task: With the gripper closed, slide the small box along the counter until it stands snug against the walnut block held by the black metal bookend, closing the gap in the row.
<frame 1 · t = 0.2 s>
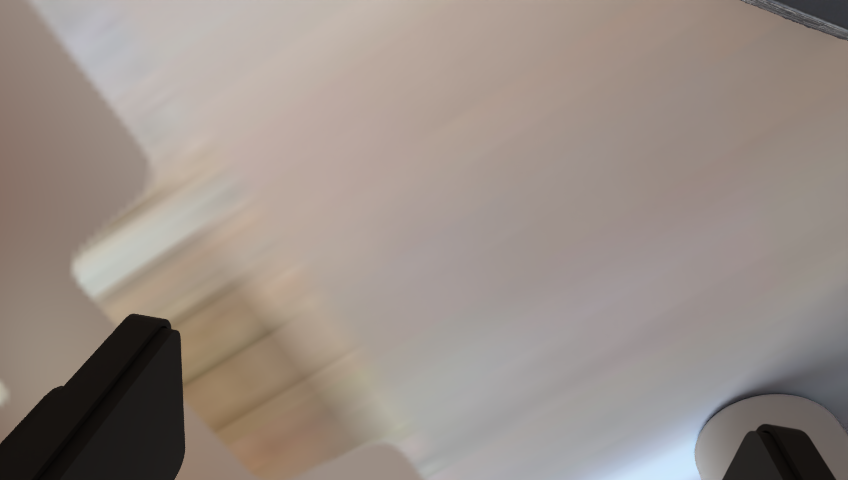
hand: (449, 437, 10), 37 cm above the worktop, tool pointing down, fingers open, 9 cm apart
cylinder vase: (762, 441, 57), on the worktop
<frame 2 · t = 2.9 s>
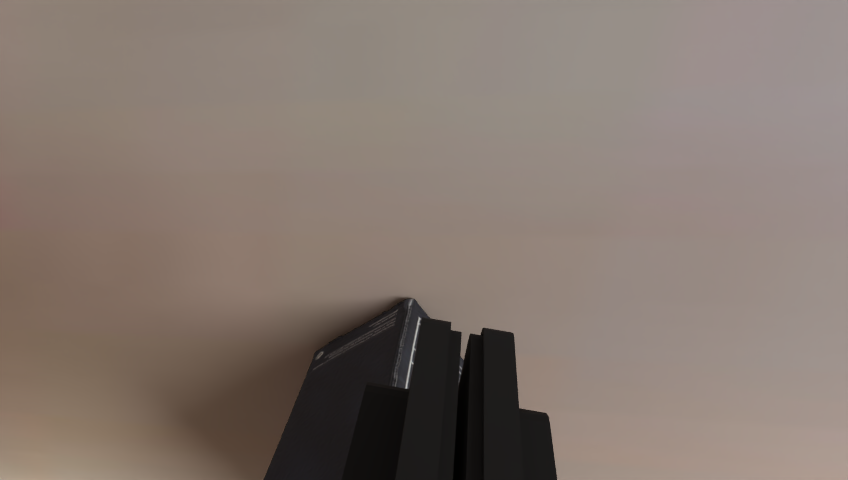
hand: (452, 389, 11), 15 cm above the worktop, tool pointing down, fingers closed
small box: (421, 395, 31), on the worktop
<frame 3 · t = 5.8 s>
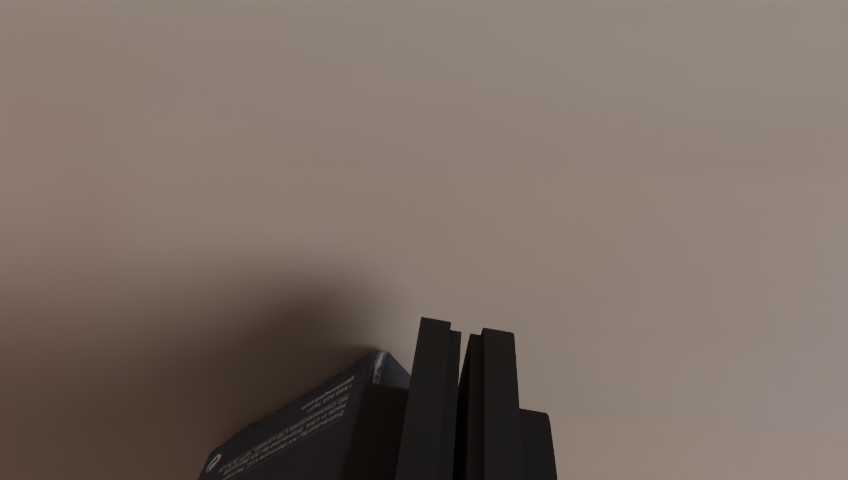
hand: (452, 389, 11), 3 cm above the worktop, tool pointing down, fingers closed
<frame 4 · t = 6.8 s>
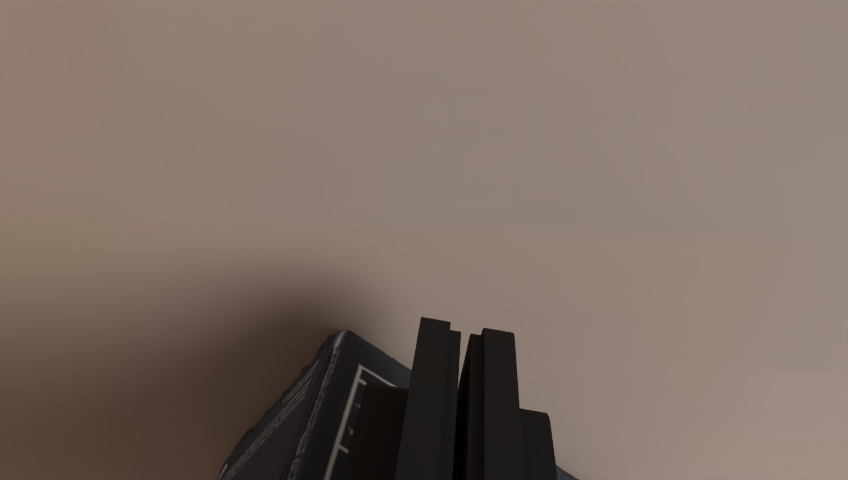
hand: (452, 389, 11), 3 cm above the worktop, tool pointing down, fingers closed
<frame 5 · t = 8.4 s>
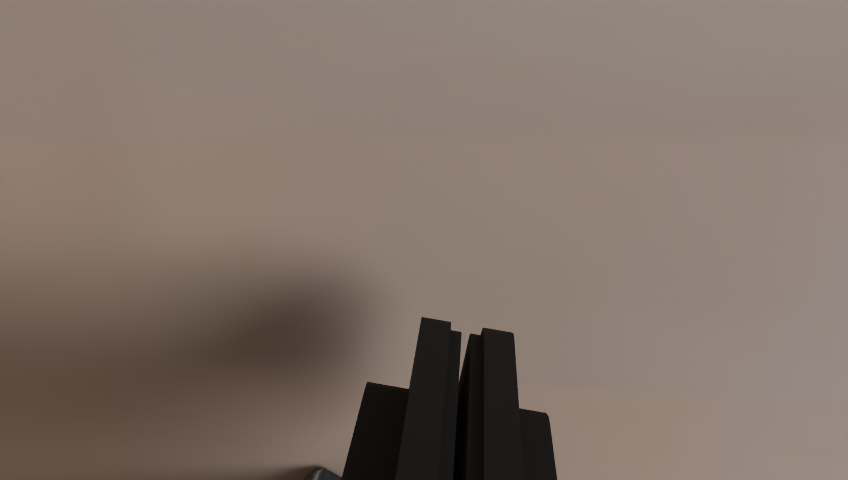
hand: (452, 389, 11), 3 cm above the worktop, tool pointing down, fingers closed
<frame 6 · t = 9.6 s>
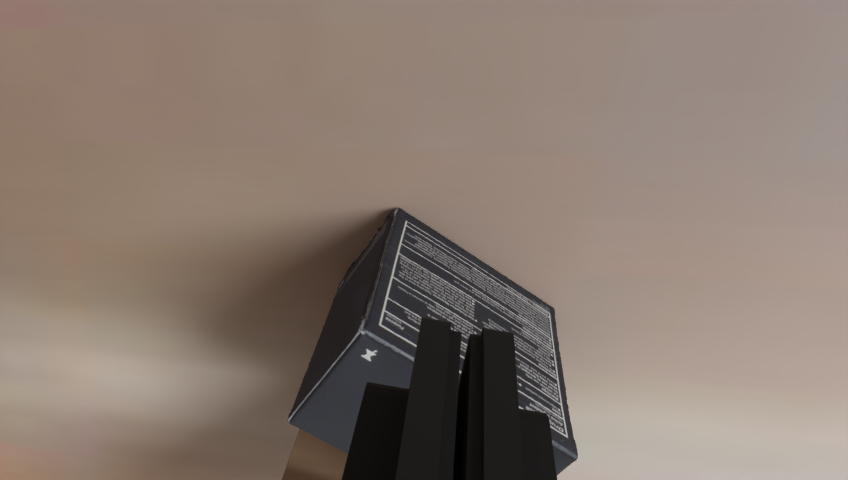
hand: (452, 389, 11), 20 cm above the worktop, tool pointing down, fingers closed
small box: (444, 296, 34), on the worktop
walnut block: (415, 409, 38), on the worktop
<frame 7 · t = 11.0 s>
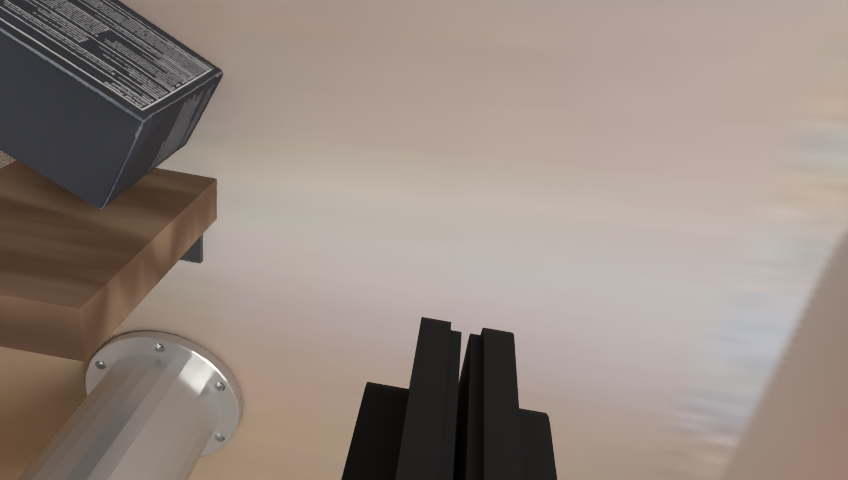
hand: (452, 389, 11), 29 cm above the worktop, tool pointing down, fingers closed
small box: (132, 62, 39), on the worktop
metal bookend: (132, 207, 44), on the worktop
walnut block: (130, 183, 43), on the worktop
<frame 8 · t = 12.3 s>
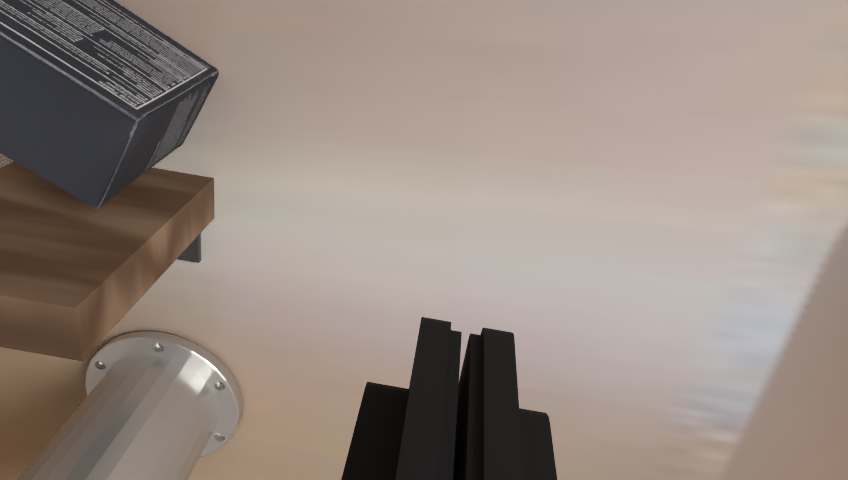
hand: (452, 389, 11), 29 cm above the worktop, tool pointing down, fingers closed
small box: (128, 62, 39), on the worktop
metal bookend: (130, 207, 44), on the worktop
walnut block: (128, 183, 43), on the worktop
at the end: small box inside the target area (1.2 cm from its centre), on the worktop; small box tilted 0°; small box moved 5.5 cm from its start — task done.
